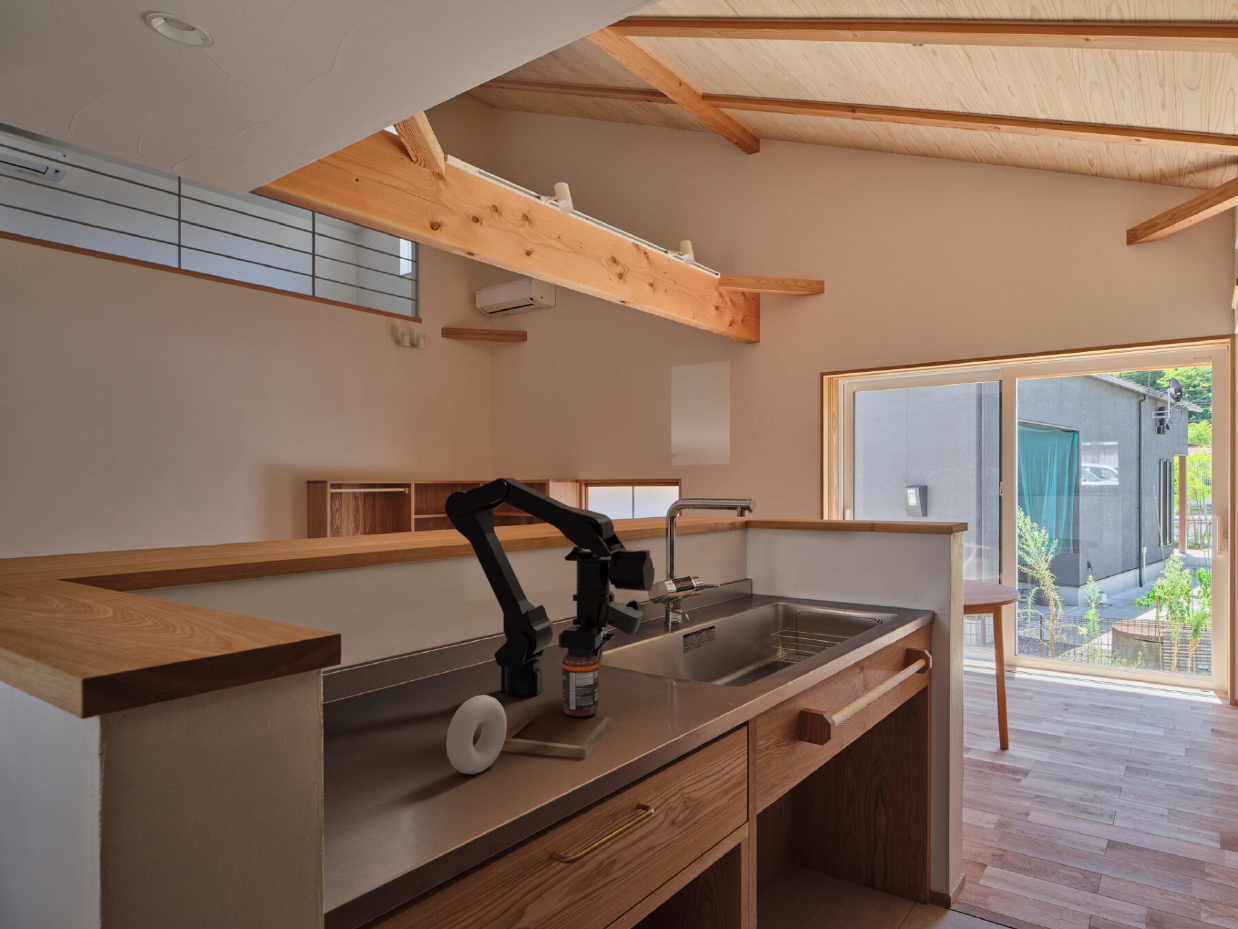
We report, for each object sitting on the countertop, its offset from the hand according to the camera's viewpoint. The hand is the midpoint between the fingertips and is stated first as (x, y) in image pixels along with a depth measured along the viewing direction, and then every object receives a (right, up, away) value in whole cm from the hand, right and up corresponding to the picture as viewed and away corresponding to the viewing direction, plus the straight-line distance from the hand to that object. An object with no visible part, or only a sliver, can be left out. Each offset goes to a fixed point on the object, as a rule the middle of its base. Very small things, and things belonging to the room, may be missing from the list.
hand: (592, 678), depth 127 cm
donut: (-14, -4, -30) cm, 33 cm away
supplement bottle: (-2, -4, -7) cm, 8 cm away
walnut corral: (-5, -4, -18) cm, 19 cm away
